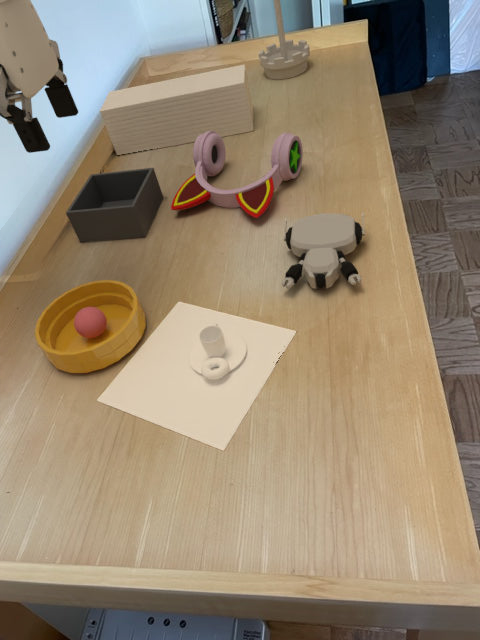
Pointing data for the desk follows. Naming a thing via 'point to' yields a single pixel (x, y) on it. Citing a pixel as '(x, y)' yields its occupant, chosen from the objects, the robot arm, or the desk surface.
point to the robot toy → (323, 249)
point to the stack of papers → (179, 110)
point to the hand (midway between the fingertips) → (54, 132)
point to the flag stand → (284, 54)
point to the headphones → (249, 197)
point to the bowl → (91, 353)
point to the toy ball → (90, 322)
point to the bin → (116, 205)
